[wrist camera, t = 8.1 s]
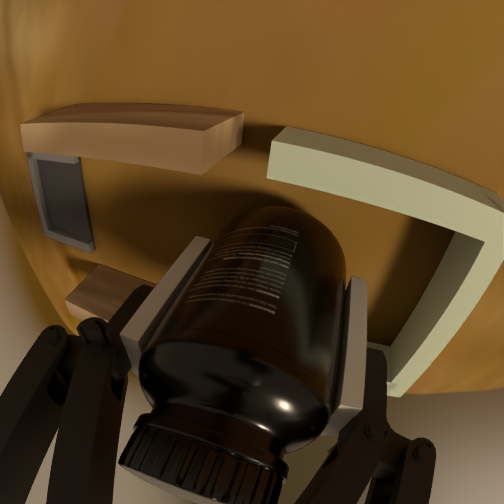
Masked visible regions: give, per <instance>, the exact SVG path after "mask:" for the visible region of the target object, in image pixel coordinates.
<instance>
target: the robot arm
mask: <svg viewBox="0 0 504 504" xmlns="http://www.w3.org/2000/svg"><path fill="white" fill-rule="evenodd" d="M210 240H211V239H207V238H203V237H199V236H196V237H195V238H194V239H193V240H192V241H191V243H190V244H189V245H188V246H187V248H186V249H185V250H184V251H183V252H182V254H181V255H180V256H179V257H178V259H177V260H176V261H175V262H174V264H173V265H172V266H171V267H170V269H169V270H168V271H167V272H166V274H165V275H164V276H163V277H162V279H161V280H160V281H159V283H158V284H157V285H156V286H155V288H154V287H151V286H148V285H145V284H143V285H141V286H140V287H138V288H136V289H135V290H134V291H133V292H132V293H131V294H130V295H129V297H128V298H127V300H125V302H124V303H123V304H122V306H120V308H119V309H118V310H117V311H116V313H115V314H114V315H113V316H112V318H111V319H110V320H109V322H108V323H107V322H106V321H105V320H104V319H102V318H99V317H90V318H87V319H84V320H83V321H82V322H81V323H80V324H79V325H78V327H77V328H76V329H77V331H78V333H79V335H80V336H76V335H69V334H67V332H66V330H65V328H63V327H62V326H59V325H51V326H49V327H47V328H45V330H44V331H42V333H41V334H40V336H39V337H38V338H37V340H36V341H35V343H34V344H33V346H32V347H31V349H30V350H29V351H28V353H27V354H26V356H25V357H24V359H23V361H22V362H21V364H20V365H19V367H18V368H17V370H16V371H15V373H14V375H13V376H12V378H11V379H10V381H9V383H8V384H7V386H6V388H5V389H4V391H3V393H2V395H1V396H0V504H25V502H26V500H27V497H28V495H29V492H30V490H31V487H32V485H33V482H34V480H35V478H36V475H37V473H38V470H39V468H40V466H41V464H42V461H43V459H44V457H45V455H46V453H47V451H48V448H49V446H50V444H51V442H52V440H53V438H54V436H55V434H56V432H57V430H58V434H57V438H56V444H55V449H54V454H53V459H52V465H51V471H50V478H49V485H48V493H47V502H46V504H112V501H113V488H114V477H115V467H116V457H117V449H118V442H119V434H120V427H121V420H122V413H123V408H124V402H125V395H126V390H127V385H128V375H127V373H128V372H129V370H130V369H131V367H132V370H133V372H134V374H136V375H138V376H139V374H138V366H139V359H140V356H141V353H142V351H143V349H144V347H145V346H146V344H147V342H148V340H149V339H150V337H151V335H152V334H153V332H154V331H155V329H156V327H157V326H158V324H159V323H160V321H161V320H162V318H163V317H164V315H165V314H166V312H167V310H168V309H169V307H170V306H171V304H172V303H173V301H174V300H175V298H176V297H177V295H178V294H179V292H180V291H181V289H182V288H183V286H184V285H185V283H186V282H187V280H188V279H189V277H190V276H191V274H192V273H193V271H194V270H195V268H196V267H197V265H198V264H199V262H200V261H201V259H202V258H203V256H204V255H205V254H206V252H207V251H208V249H209V248H210ZM386 404H387V360H386V357H385V355H384V352H383V351H382V350H377V349H373V348H368V347H367V280H365V279H361V278H357V277H353V276H351V279H350V281H349V284H348V286H347V289H346V291H345V303H344V317H343V329H342V339H341V349H340V359H339V367H338V375H337V383H336V390H335V397H334V404H333V408H332V414H331V418H330V421H329V423H328V425H327V427H326V428H325V430H324V431H323V433H322V434H321V435H326V436H331V437H335V436H336V435H337V434H338V433H339V436H338V442H337V443H336V444H335V445H334V446H333V447H332V448H330V449H329V450H328V451H327V452H328V453H329V454H328V456H327V458H326V459H325V461H324V462H323V464H322V465H321V467H320V468H319V470H318V471H317V473H316V474H315V476H314V477H313V478H312V480H311V481H310V483H309V484H308V486H307V487H306V488H305V490H304V491H303V493H302V494H301V495H300V497H299V498H298V499H297V501H296V502H295V503H294V504H356V503H357V502H358V500H359V498H360V497H361V495H362V493H363V491H364V490H365V488H366V486H367V484H368V482H369V481H370V479H371V477H372V479H371V482H370V486H369V490H368V493H367V497H366V500H365V504H429V498H430V493H431V488H432V481H433V475H434V468H435V461H436V449H435V447H434V445H433V443H432V442H431V441H430V440H428V439H426V438H417V439H414V440H412V441H411V440H409V439H407V438H405V437H403V436H401V435H399V434H397V433H395V432H394V431H393V430H392V429H391V428H390V425H389V424H388V422H387V418H386V407H387V405H386ZM58 428H59V429H58Z"/></svg>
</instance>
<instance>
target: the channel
mask: <svg viewBox="0 0 504 504" xmlns="http://www.w3.org/2000/svg"><path fill="white" fill-rule="evenodd" d="M244 114H245V112H241V111H233V110H225V109H216V108H207V107H196V106H184V105H169V104H148V103H91V104H75V105H72V106H69V107H66V108H63V109H60V110H57V111H54V112H51V113H48V114H45V115H42V116H40V117H37V118H34V119H32V120H29V121H27V122H24V123H22V124H20V126H21V135H22V143H23V150H24V152H35V153H47V154H57V155H67V156H76V157H85V158H94V159H102V160H109V161H117V162H124V163H131V164H137V165H144V166H151V167H157V168H163V169H169V170H175V171H181V172H186V173H192V174H197V175H202V174H204V173H205V172H206V171H207V170H209V169H210V168H211V167H212V166H214V165H215V164H216V163H217V162H219V161H220V160H221V159H222V158H224V157H225V156H226V155H228V154H229V153H230V152H232V151H233V150H234V149H235V148H237V147H238V146H239V145H241V142H242V133H243V123H244ZM143 284H145V285H148V286H151V287H154V288H155V286H156V284H153V283H150V282H147V281H145V280H142V279H139V278H136V277H133V276H130V275H127V274H125V273H122V272H119V271H116V270H114V269H111V268H108V267H105V266H103V265H100V264H99V265H98V266H97V267H96V268H95V269H94V270H93V271H92V272H91V273H90V274H89V275H88V276H87V277H86V278H85V279H84V280H83V281H82V282H81V283H80V284H79V285H78V286H77V287H76V288H75V289H74V290H73V291H72V292H71V293H70V294H69V295H68V296H67V298H66V299H65V302H66V305H67V307H68V310H69V312H70V314H71V315H72V316H74V317H76V318H78V319H80V320H82V321H83V320H84V319H87V318H90V317H99V318H102V319H104V320H105V321H106V322H107V323H108V322H109V320H110V319H111V318H112V316H113V315H114V314H115V313H116V311H117V310H118V309H119V308H120V306H122V304H123V303H124V302H125V300H127V298H128V297H129V295H130V294H131V293H132V292H133V291H134V290H135V289H136V288H138V287H140V286H141V285H143Z"/></svg>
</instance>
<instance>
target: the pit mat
mask: <svg viewBox="0 0 504 504" xmlns="http://www.w3.org/2000/svg"><path fill="white" fill-rule="evenodd" d="M27 158H28V164H29V170H30V175H31V181H32V186H33V190H34V195H35V199H36V204H37V208H38V212H39V216H40V220H41V224H42V227H43V231H44V235H45V236H47V237H49V238H52V239H54V240H57V241H59V242H62V243H65V244H67V245H70V246H73V247H75V248H78V249H81V250H83V251H86V252H89V253H92V252H93V251H94V250H95V249H96V248H95V244H94V239H93V235H92V230H91V225H90V219H89V214H88V208H87V202H86V196H85V190H84V183H83V175H82V168H81V159H80V157H76V156H67V155H57V154H47V153H35V152H27Z"/></svg>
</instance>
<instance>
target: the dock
mask: <svg viewBox="0 0 504 504" xmlns="http://www.w3.org/2000/svg"><path fill="white" fill-rule="evenodd" d="M267 178H268V179H273V180H277V181H282V182H286V183H291V184H295V185H299V186H303V187H307V188H312V189H316V190H320V191H324V192H328V193H332V194H335V195H339V196H343V197H347V198H350V199H354V200H358V201H361V202H365V203H368V204H372V205H375V206H379V207H382V208H386V209H389V210H392V211H396V212H399V213H402V214H406V215H409V216H412V217H415V218H418V219H421V220H424V221H427V222H430V223H433V224H436V225H439V226H442V227H445V228H448V229H451V230H454V231H455V233H454V235H453V237H452V240H451V242H450V244H449V246H448V248H447V250H446V252H445V254H444V256H443V258H442V260H441V262H440V264H439V266H438V268H437V270H436V272H435V273H434V275H433V277H432V279H431V281H430V283H429V284H428V286H427V288H426V290H425V292H424V293H423V295H422V297H421V298H420V300H419V302H418V304H417V305H416V307H415V309H414V310H413V312H412V314H411V315H410V317H409V318H408V320H407V322H406V323H405V325H404V326H403V328H402V329H401V331H400V332H399V334H398V336H397V337H396V339H395V340H394V342H393V343H392V344H391V346H386V345H382V344H377V343H372V342H368V341H367V347H368V348H373V349H377V350H382V351H383V352H384V355H385V357H386V360H387V395H389V396H395V397H401V396H402V395H403V394H404V393H405V392H406V391H407V390H408V389H409V388H410V386H411V385H412V384H413V383H414V382H415V381H416V380H417V379H418V378H419V377H420V376H421V375H422V373H423V372H424V371H425V370H426V369H427V368H428V367H429V365H430V364H431V363H432V362H433V361H434V360H435V358H436V357H437V356H438V355H439V354H440V352H441V351H442V350H443V349H444V347H445V346H446V345H447V344H448V342H449V341H450V340H451V339H452V337H453V336H454V335H455V333H456V332H457V331H458V329H459V328H460V327H461V325H462V324H463V322H464V321H465V320H466V318H467V317H468V315H469V314H470V313H471V311H472V310H473V308H474V307H475V305H476V304H477V302H478V301H479V299H480V298H481V296H482V295H483V293H484V292H485V290H486V288H487V287H488V285H489V284H490V282H491V280H492V279H493V277H494V275H495V274H496V272H497V270H498V268H499V267H500V265H501V263H502V261H503V260H504V201H503V199H502V198H501V197H500V196H499V195H498V194H497V193H495V192H493V191H490V190H488V189H486V188H484V187H481V186H479V185H477V184H475V183H472V182H470V181H468V180H465V179H463V178H460V177H458V176H455V175H453V174H450V173H448V172H445V171H443V170H440V169H437V168H435V167H432V166H429V165H426V164H423V163H421V162H418V161H415V160H412V159H409V158H406V157H403V156H400V155H397V154H394V153H390V152H387V151H384V150H381V149H377V148H374V147H370V146H367V145H363V144H360V143H356V142H352V141H348V140H345V139H341V138H337V137H333V136H328V135H324V134H320V133H315V132H311V131H306V130H302V129H297V128H292V127H287V126H286V127H285V128H284V129H283V130H282V131H281V132H280V133H279V134H278V135H277V136H276V137H275V138H274V139H273V140H272V143H271V150H270V157H269V164H268V171H267Z"/></svg>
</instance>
